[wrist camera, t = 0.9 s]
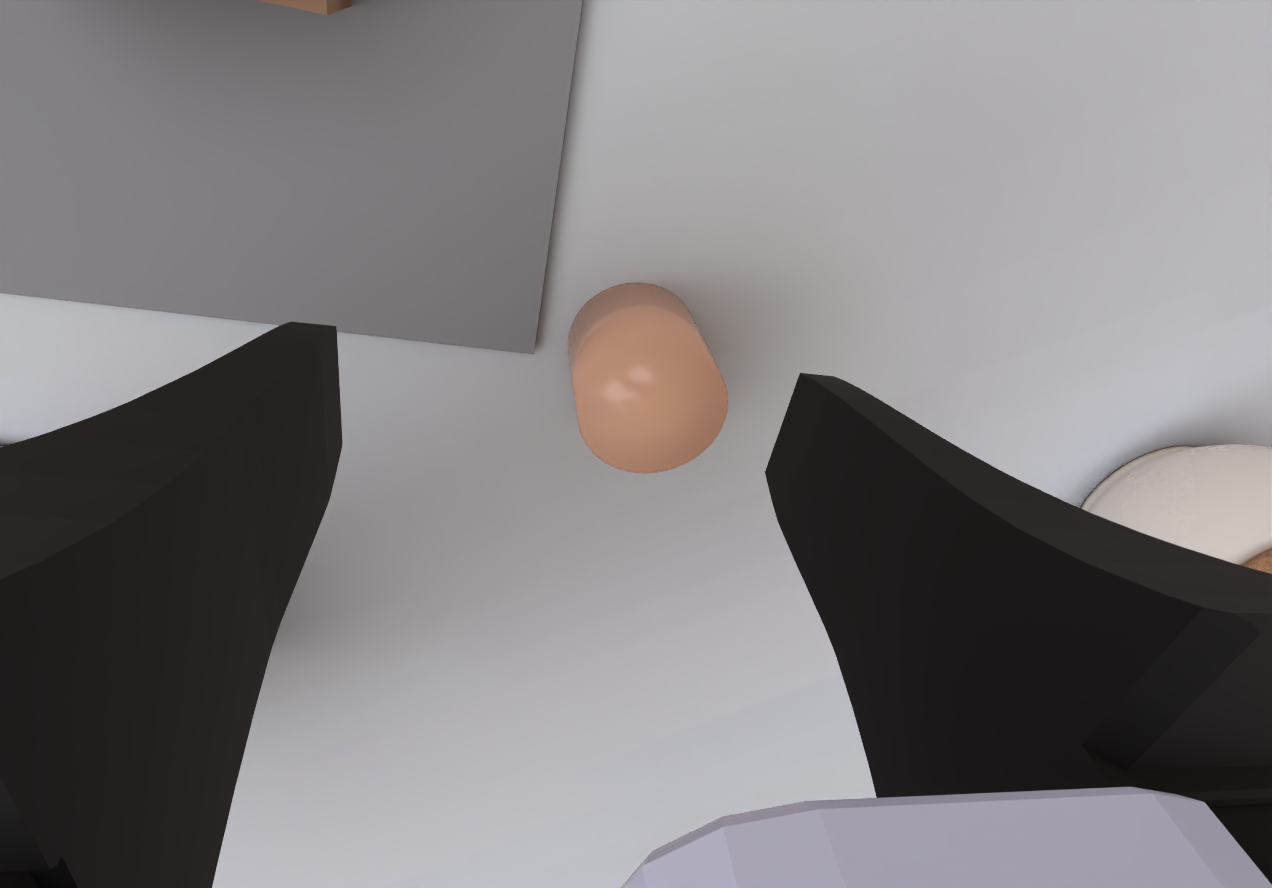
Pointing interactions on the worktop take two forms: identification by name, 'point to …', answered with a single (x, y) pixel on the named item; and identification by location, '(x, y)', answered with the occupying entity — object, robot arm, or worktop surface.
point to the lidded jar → (1196, 500)
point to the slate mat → (288, 160)
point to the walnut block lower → (314, 5)
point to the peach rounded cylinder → (644, 380)
